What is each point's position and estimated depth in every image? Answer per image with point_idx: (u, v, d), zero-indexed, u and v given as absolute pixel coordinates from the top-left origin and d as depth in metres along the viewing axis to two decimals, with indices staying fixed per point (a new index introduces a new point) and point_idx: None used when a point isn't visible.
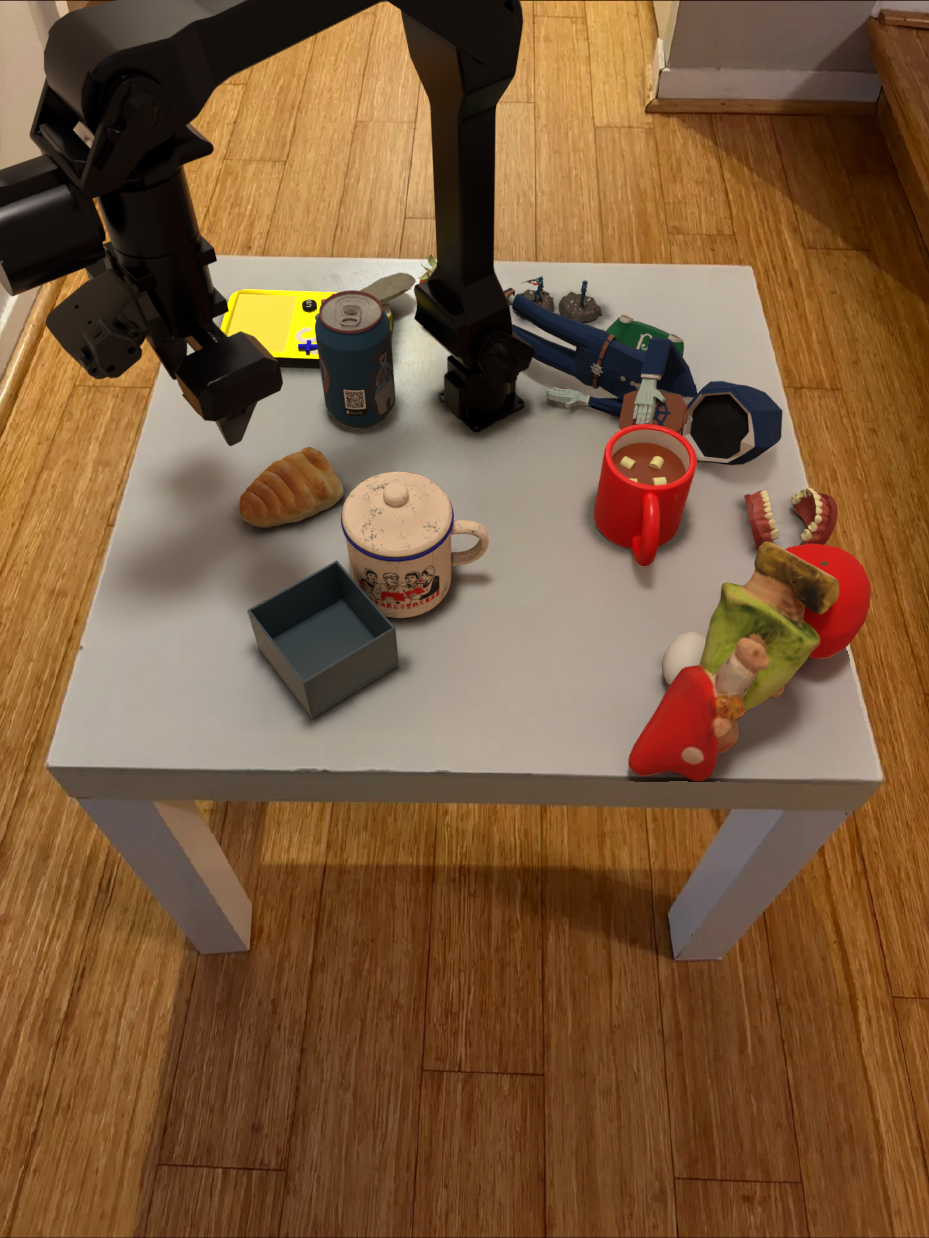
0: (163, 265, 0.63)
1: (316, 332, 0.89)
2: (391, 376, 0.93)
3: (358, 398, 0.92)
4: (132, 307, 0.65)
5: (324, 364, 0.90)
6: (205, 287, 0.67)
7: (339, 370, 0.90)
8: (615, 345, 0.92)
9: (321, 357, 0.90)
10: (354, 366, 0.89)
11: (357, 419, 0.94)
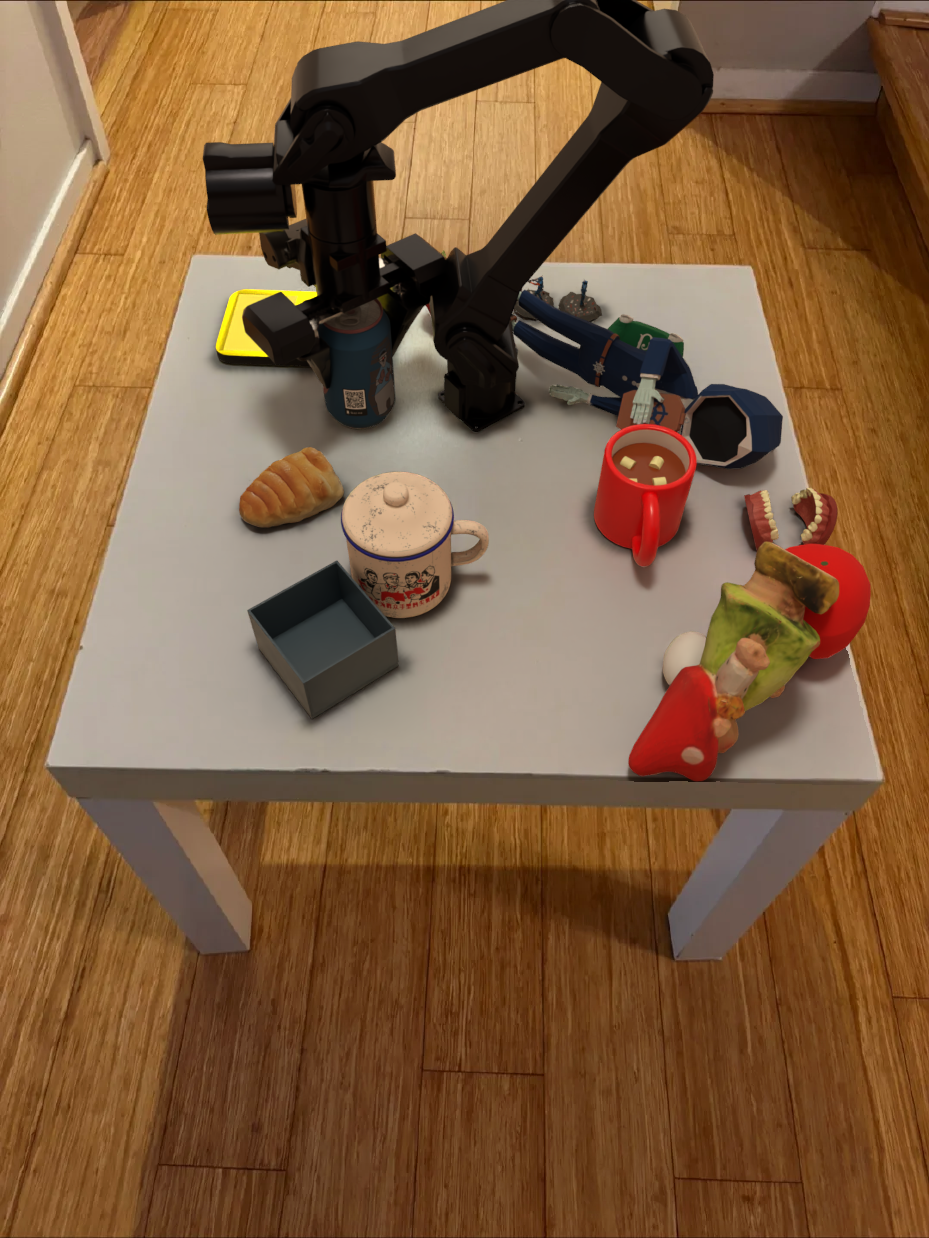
0: (309, 236, 0.81)
1: None
2: (391, 376, 0.93)
3: (358, 398, 0.92)
4: None
5: None
6: (332, 280, 0.82)
7: (339, 370, 0.90)
8: (618, 344, 0.92)
9: None
10: (354, 366, 0.89)
11: (357, 419, 0.94)
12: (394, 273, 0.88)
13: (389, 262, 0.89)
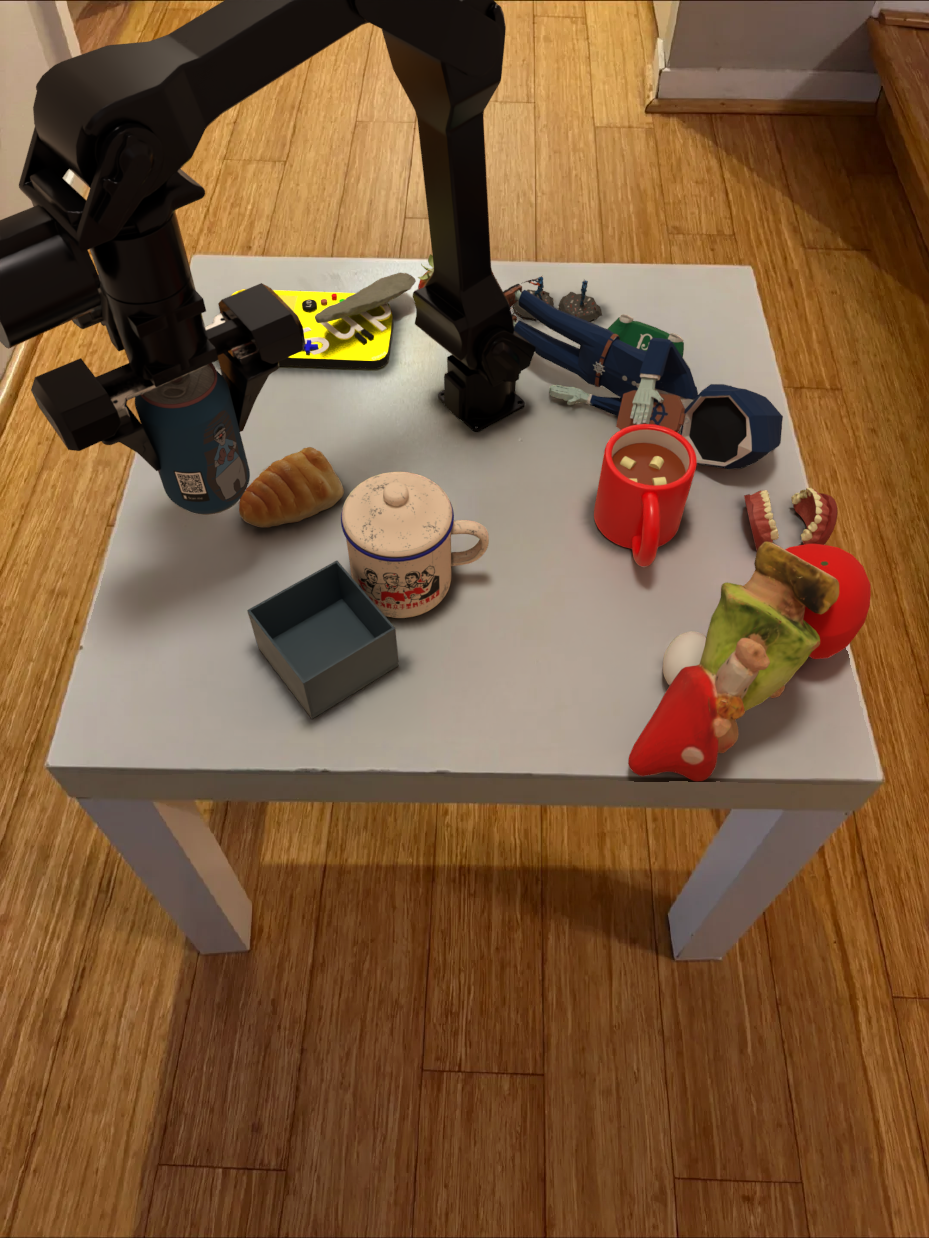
0: None
1: (135, 404, 0.72)
2: (237, 454, 0.76)
3: (195, 482, 0.75)
4: None
5: None
6: (137, 347, 0.65)
7: (165, 450, 0.73)
8: (618, 345, 0.92)
9: None
10: (182, 445, 0.72)
11: (198, 505, 0.77)
12: (230, 334, 0.71)
13: (228, 319, 0.72)
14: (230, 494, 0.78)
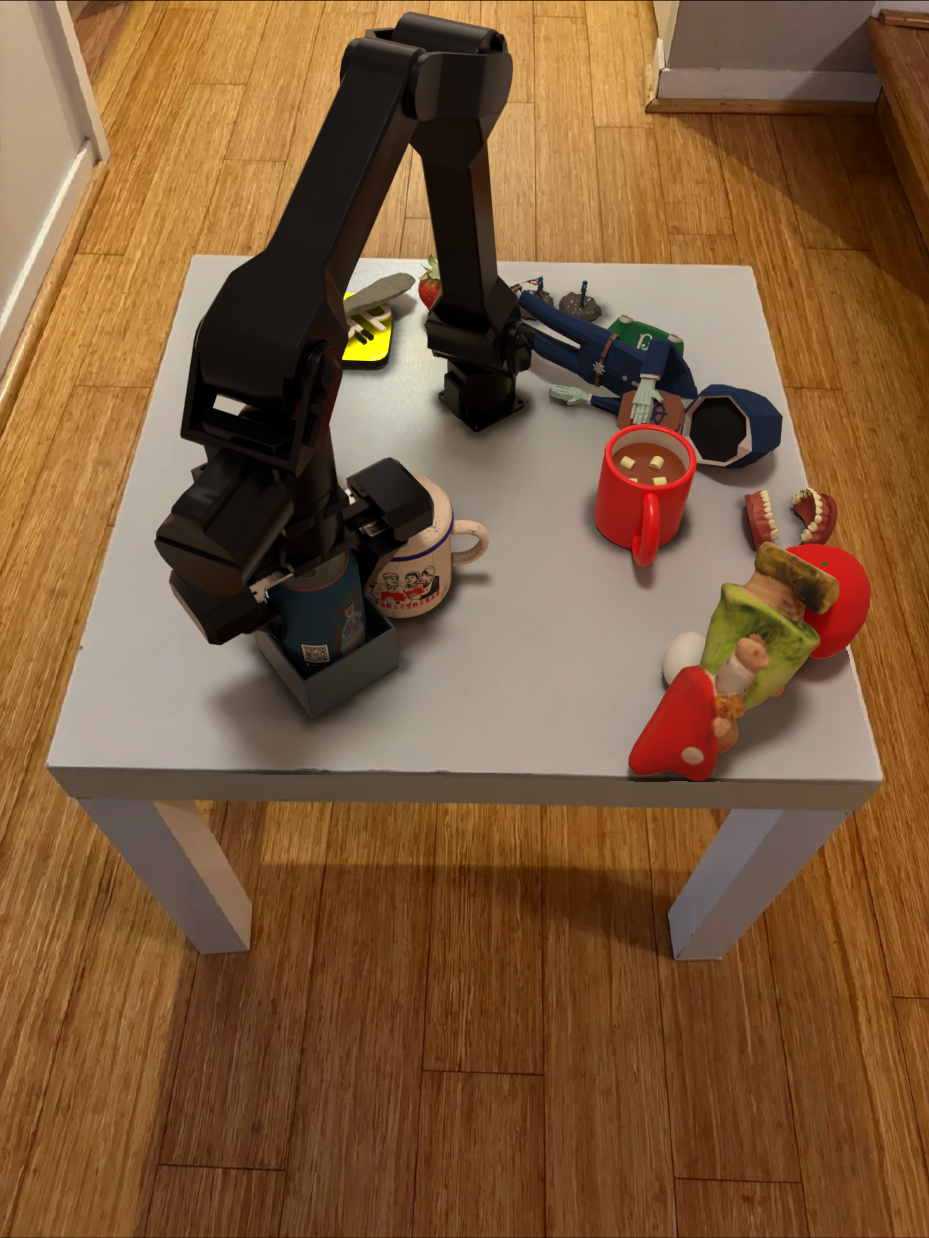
0: None
1: None
2: (361, 621, 0.76)
3: (320, 652, 0.74)
4: None
5: None
6: (281, 542, 0.65)
7: (294, 626, 0.72)
8: (618, 344, 0.92)
9: None
10: (313, 623, 0.71)
11: None
12: (362, 513, 0.70)
13: (357, 494, 0.71)
14: None
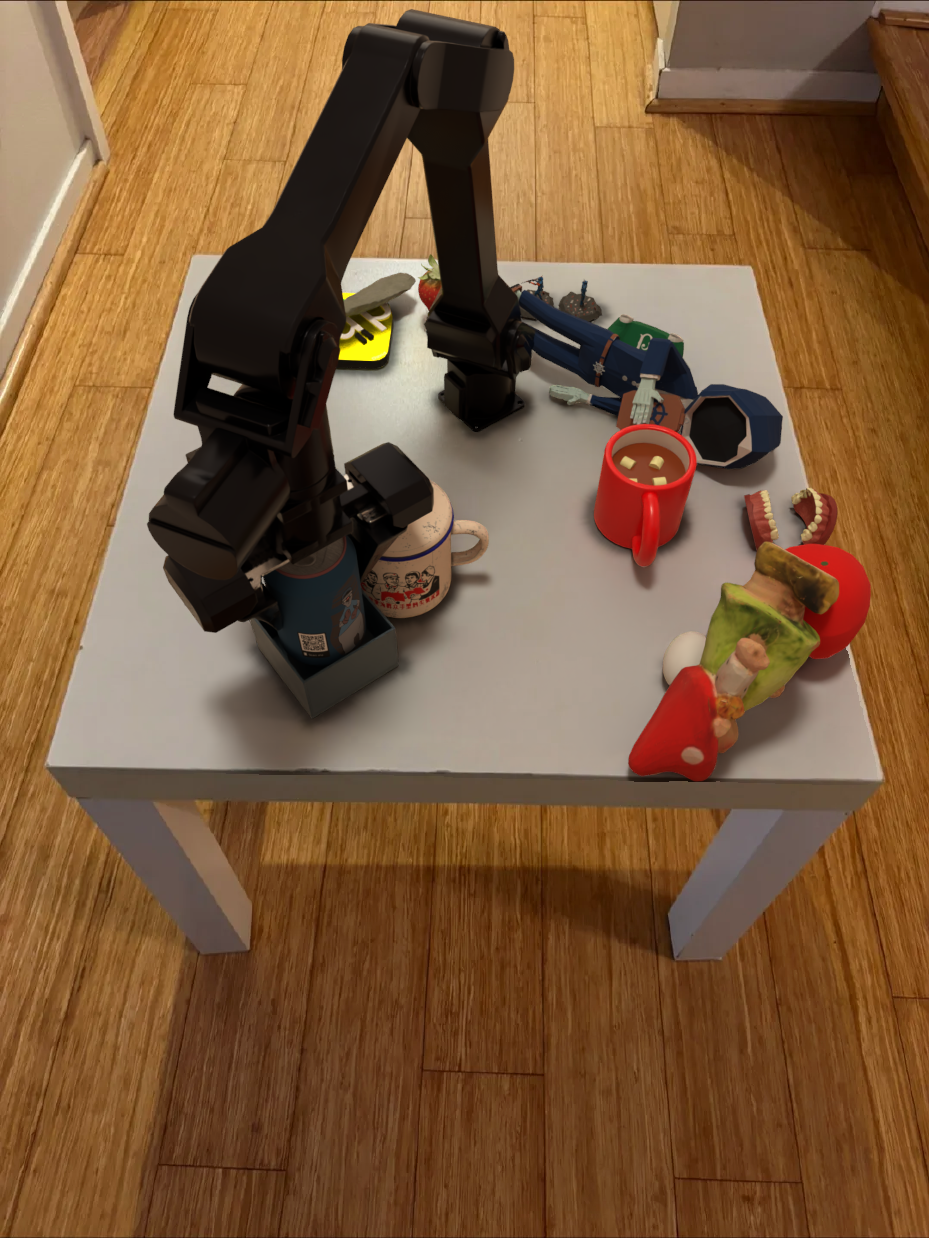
0: None
1: None
2: (359, 610, 0.74)
3: (318, 641, 0.73)
4: None
5: None
6: (277, 527, 0.63)
7: (291, 615, 0.71)
8: (618, 345, 0.93)
9: None
10: (310, 611, 0.70)
11: (317, 660, 0.75)
12: (361, 499, 0.69)
13: (355, 480, 0.70)
14: (350, 648, 0.76)
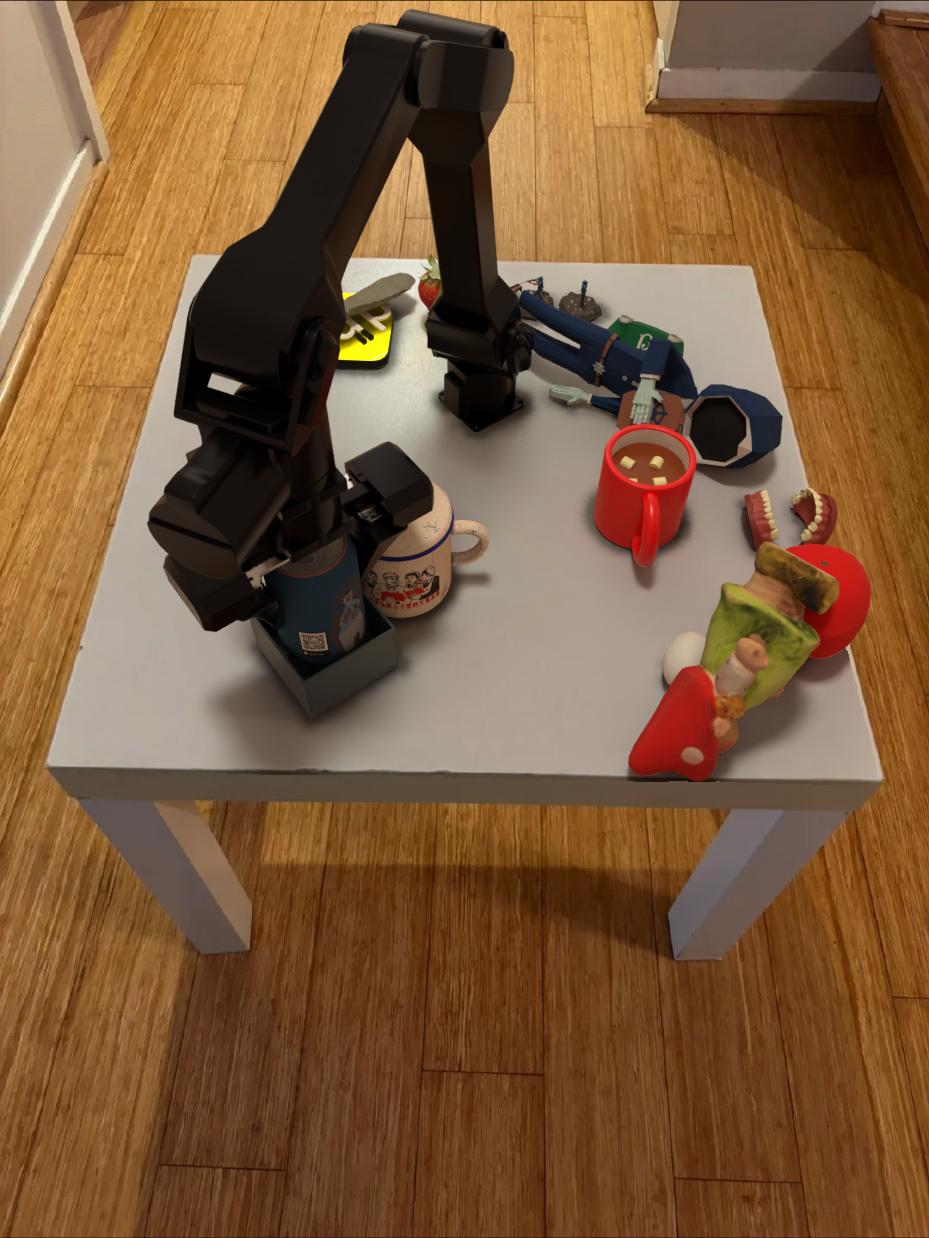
0: None
1: None
2: (360, 609, 0.74)
3: (318, 640, 0.73)
4: None
5: None
6: (277, 526, 0.63)
7: (292, 614, 0.71)
8: (618, 344, 0.93)
9: None
10: (311, 611, 0.70)
11: (318, 660, 0.75)
12: (361, 498, 0.69)
13: (356, 479, 0.70)
14: (350, 647, 0.76)
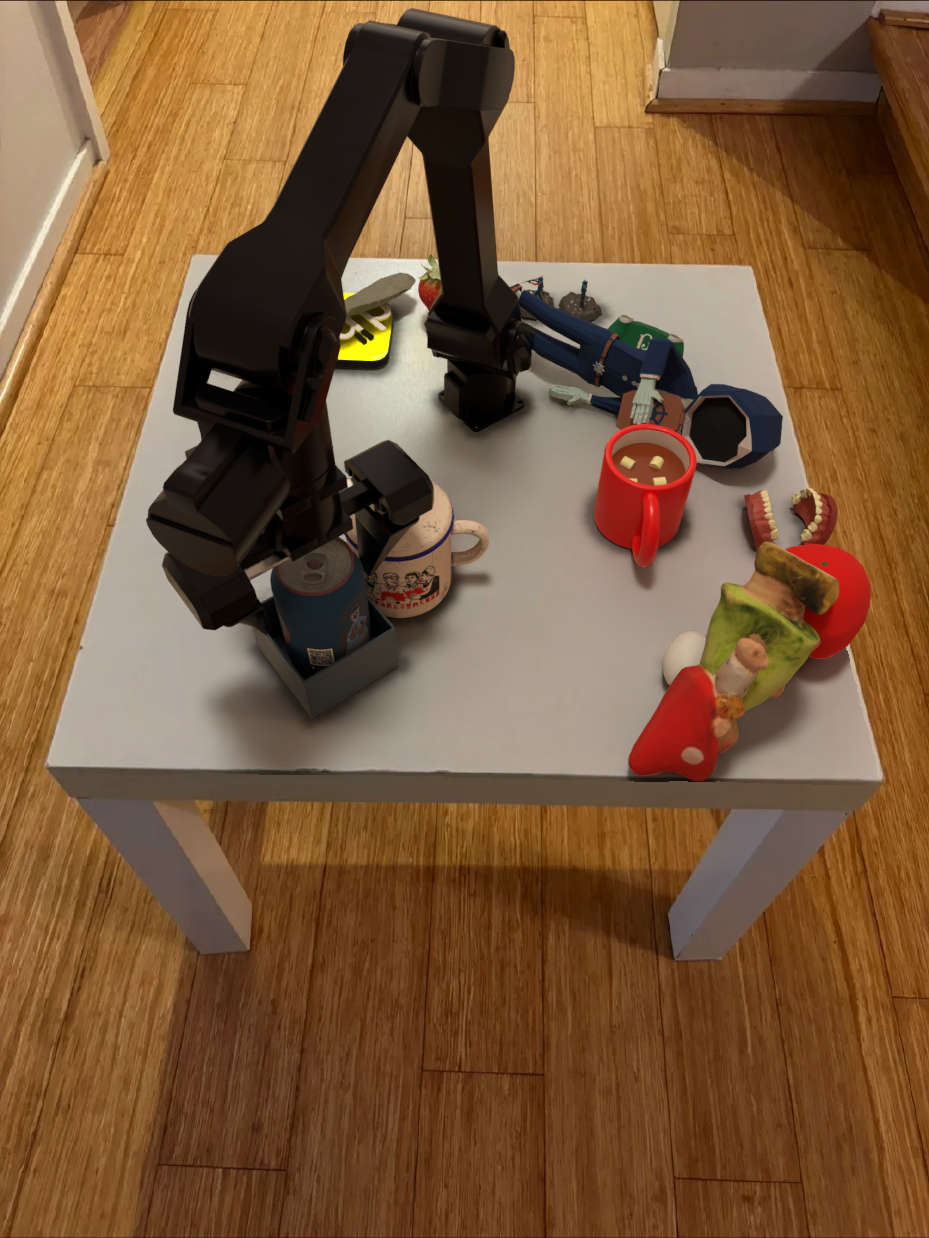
0: None
1: (272, 586, 0.72)
2: (366, 625, 0.76)
3: (326, 656, 0.75)
4: None
5: (282, 620, 0.73)
6: (276, 524, 0.63)
7: (300, 630, 0.73)
8: (618, 344, 0.92)
9: (279, 612, 0.73)
10: (319, 627, 0.72)
11: None
12: (360, 496, 0.68)
13: None
14: None
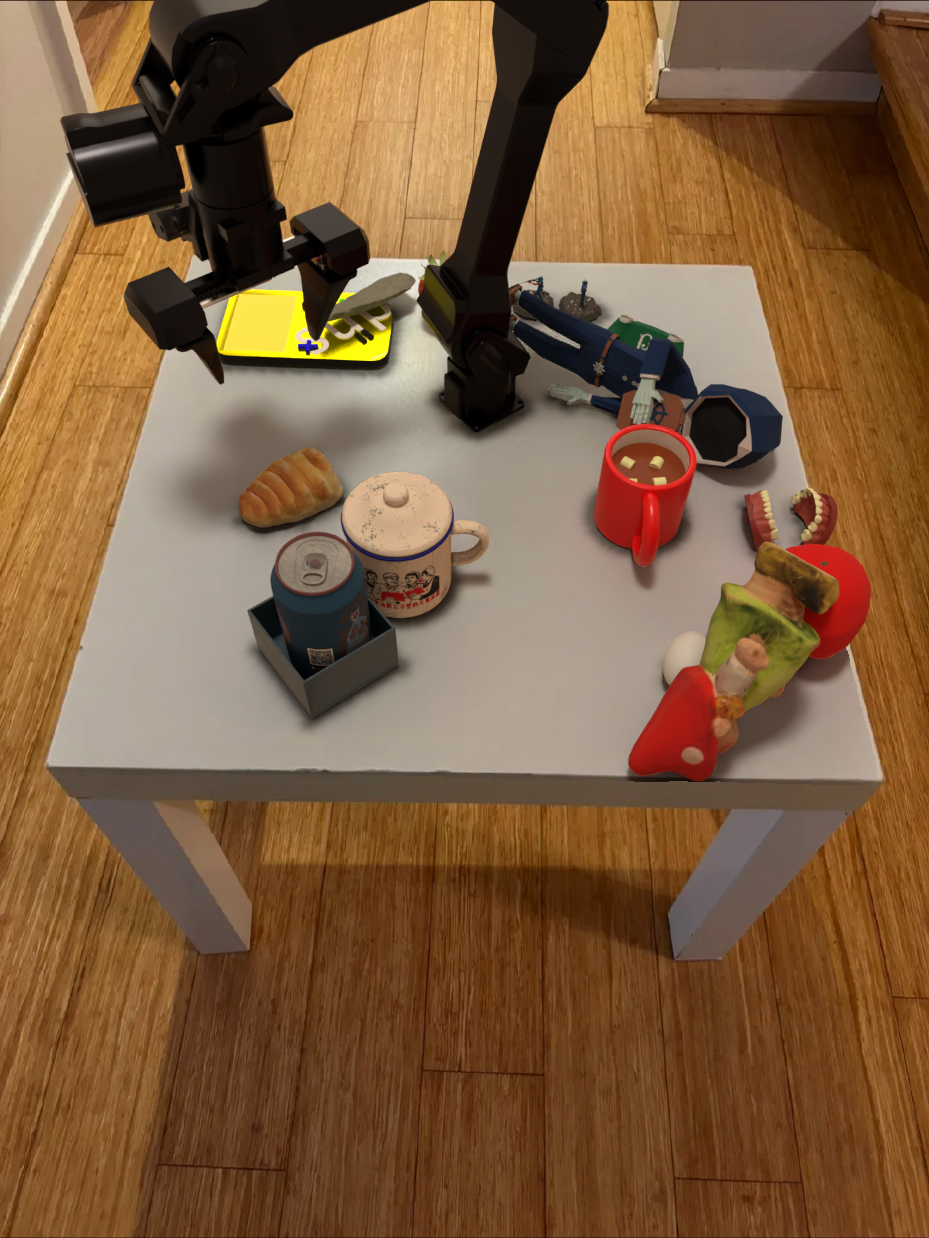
0: (195, 201, 0.70)
1: (272, 586, 0.72)
2: (366, 625, 0.76)
3: (326, 656, 0.75)
4: None
5: (282, 620, 0.73)
6: (224, 253, 0.71)
7: (300, 630, 0.73)
8: (618, 344, 0.93)
9: (279, 612, 0.73)
10: (319, 627, 0.72)
11: None
12: (303, 247, 0.76)
13: None
14: None
